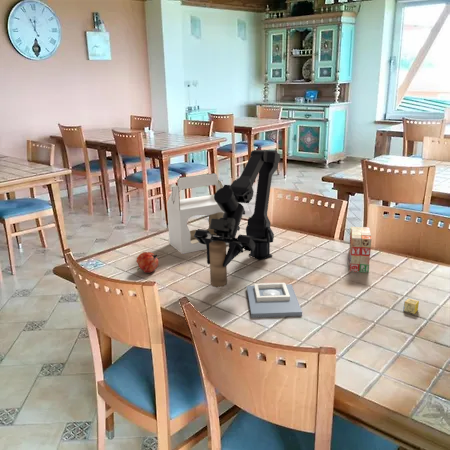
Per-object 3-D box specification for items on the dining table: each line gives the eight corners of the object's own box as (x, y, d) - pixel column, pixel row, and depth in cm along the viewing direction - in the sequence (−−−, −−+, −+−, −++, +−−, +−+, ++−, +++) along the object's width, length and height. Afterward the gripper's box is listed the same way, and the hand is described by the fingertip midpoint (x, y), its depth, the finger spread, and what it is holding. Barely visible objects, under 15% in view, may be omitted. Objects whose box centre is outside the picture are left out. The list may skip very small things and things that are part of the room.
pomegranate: (136, 281, 157) (156, 267, 152) (125, 263, 157) (144, 248, 153) (148, 275, 163) (167, 261, 159) (137, 258, 164) (156, 244, 160)
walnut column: (215, 279, 144) (214, 240, 140) (229, 281, 142) (228, 242, 138) (207, 285, 140) (206, 245, 136) (222, 288, 138) (221, 247, 134)
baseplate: (246, 289, 144) (246, 282, 143) (291, 287, 144) (291, 280, 143) (251, 317, 126) (251, 309, 126) (302, 315, 127) (302, 308, 126)
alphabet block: (406, 307, 130) (407, 297, 129) (418, 310, 128) (419, 300, 127) (403, 311, 128) (404, 301, 127) (414, 314, 126) (415, 304, 125)
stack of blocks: (348, 249, 175) (350, 218, 171) (365, 250, 173) (368, 219, 170) (349, 271, 155) (351, 237, 151) (369, 273, 154) (371, 238, 150)
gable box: (217, 235, 195) (215, 169, 187) (232, 243, 184) (231, 175, 176) (168, 244, 185) (164, 176, 177) (181, 254, 174) (177, 181, 166)
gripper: (195, 204, 141) (178, 249, 135) (251, 210, 133) (235, 258, 127) (208, 221, 150) (193, 264, 144) (261, 228, 142) (247, 274, 136)
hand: (216, 265), depth 138 cm, fingers closed on walnut column, 5 cm apart
